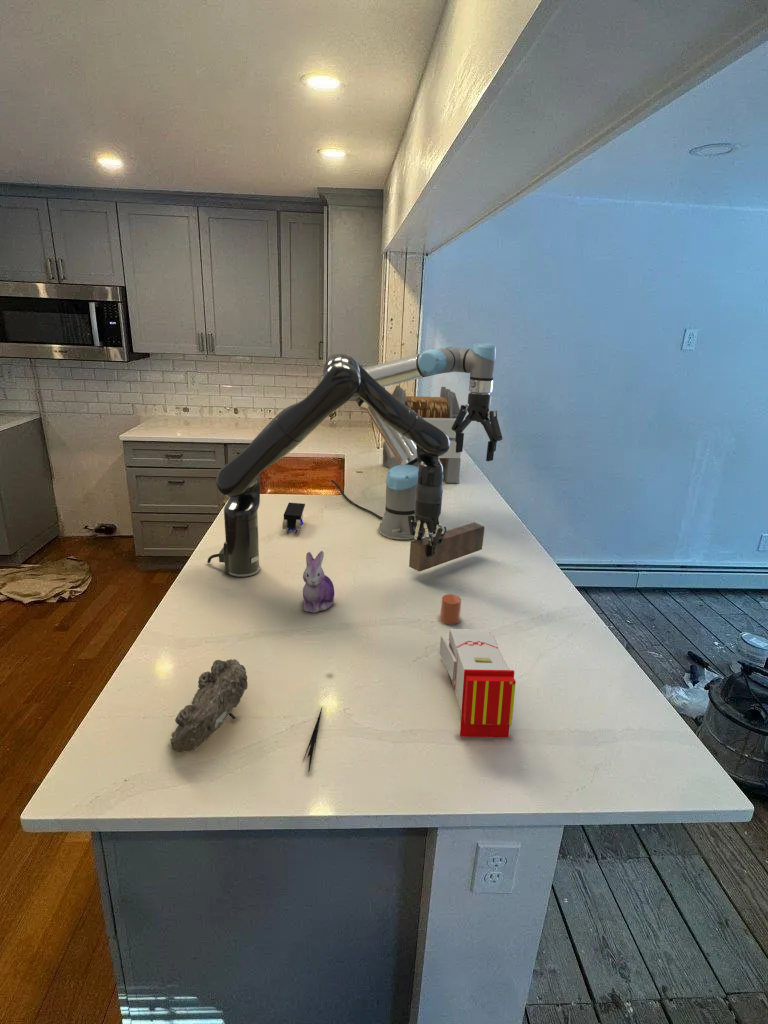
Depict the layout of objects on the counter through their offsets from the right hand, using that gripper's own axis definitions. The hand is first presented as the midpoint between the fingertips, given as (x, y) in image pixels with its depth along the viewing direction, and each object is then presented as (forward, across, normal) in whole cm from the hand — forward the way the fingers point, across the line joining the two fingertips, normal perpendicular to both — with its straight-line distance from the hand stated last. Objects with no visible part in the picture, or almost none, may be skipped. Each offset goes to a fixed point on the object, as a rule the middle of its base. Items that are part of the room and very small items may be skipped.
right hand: (473, 456), depth 192 cm
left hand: (+21, +15, -36) cm, 45 cm away
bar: (+25, +15, -26) cm, 39 cm away
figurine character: (+29, -39, -47) cm, 67 cm away
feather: (+29, +48, -96) cm, 111 cm away
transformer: (+29, -67, +41) cm, 84 cm away
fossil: (+29, +35, -111) cm, 120 cm away
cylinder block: (+29, +37, -48) cm, 67 cm away
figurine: (+29, +11, -71) cm, 77 cm away
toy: (+29, +60, -66) cm, 94 cm away
